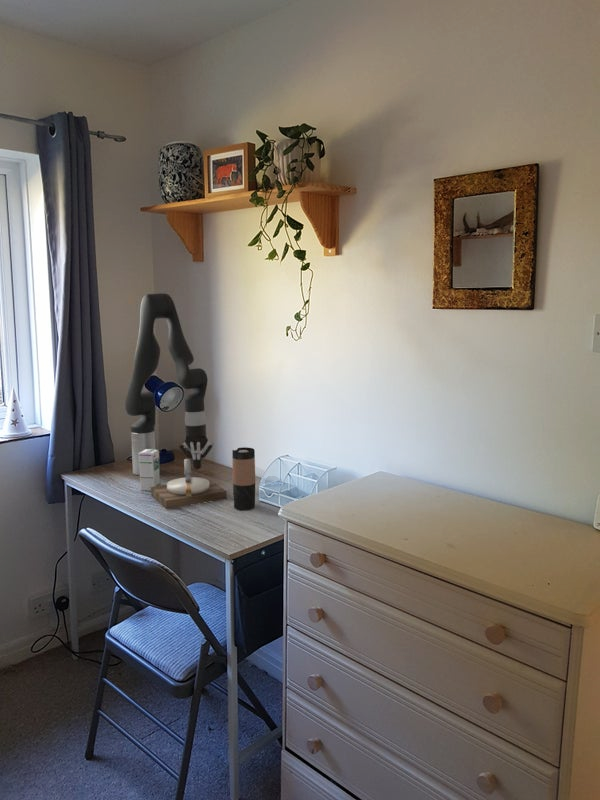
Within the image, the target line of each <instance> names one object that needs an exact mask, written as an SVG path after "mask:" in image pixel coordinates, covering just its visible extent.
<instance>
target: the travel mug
mask: <svg viewBox="0 0 600 800" xmlns="http://www.w3.org/2000/svg"><path fill="white" fill-rule="evenodd" d="M255 452H256V451H255V449H254V448H253V447H246V446H244V447H237V449H232V454H231V455H232V491H233V492H232V493H233V509H236V510H237V511H250V510H253V509H255V508H256V457H255V456H256V455H255Z"/></svg>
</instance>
